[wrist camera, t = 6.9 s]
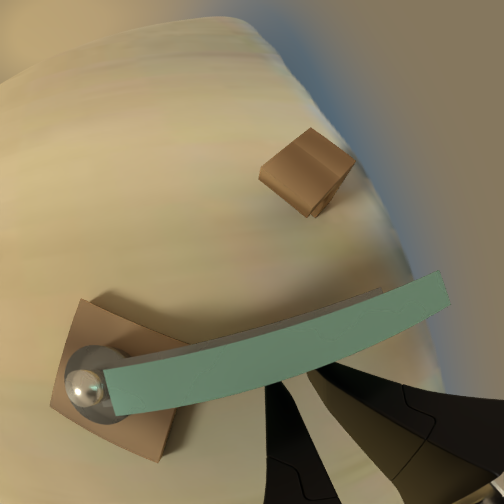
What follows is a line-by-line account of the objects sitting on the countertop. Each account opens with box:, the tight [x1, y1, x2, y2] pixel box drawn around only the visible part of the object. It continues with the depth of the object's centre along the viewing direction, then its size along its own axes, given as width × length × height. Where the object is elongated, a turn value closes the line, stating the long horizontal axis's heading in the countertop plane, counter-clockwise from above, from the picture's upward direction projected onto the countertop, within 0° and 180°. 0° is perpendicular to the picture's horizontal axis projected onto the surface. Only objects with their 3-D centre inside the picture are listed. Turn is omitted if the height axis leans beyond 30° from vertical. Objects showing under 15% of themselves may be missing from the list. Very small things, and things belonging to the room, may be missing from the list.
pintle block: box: [50, 299, 190, 463], centre depth 15 cm, size 8×8×1 cm
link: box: [64, 270, 451, 425], centre depth 11 cm, size 19×4×10 cm, turn 106°
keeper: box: [259, 128, 356, 218], centre depth 18 cm, size 5×4×5 cm
